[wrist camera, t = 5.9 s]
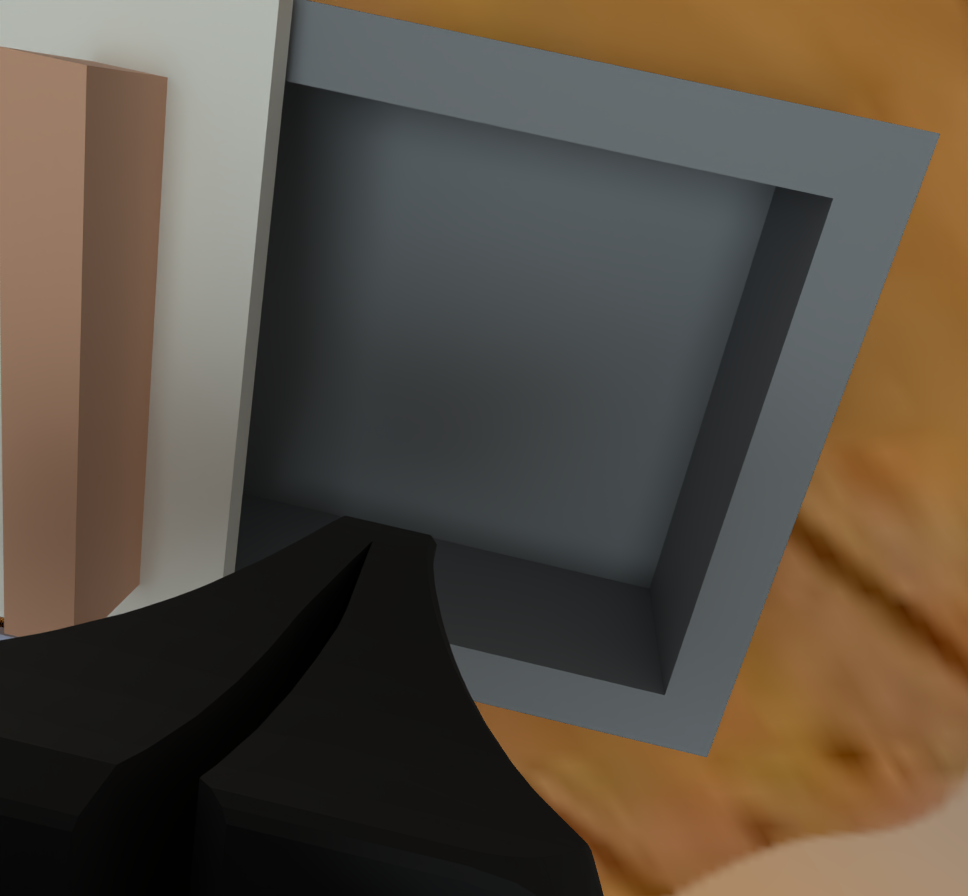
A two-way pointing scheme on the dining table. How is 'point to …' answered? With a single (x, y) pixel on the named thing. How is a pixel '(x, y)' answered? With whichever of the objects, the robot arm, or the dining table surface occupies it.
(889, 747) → the dining table surface
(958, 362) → the dining table surface
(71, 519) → the lid
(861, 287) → the gray open box
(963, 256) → the dining table surface
